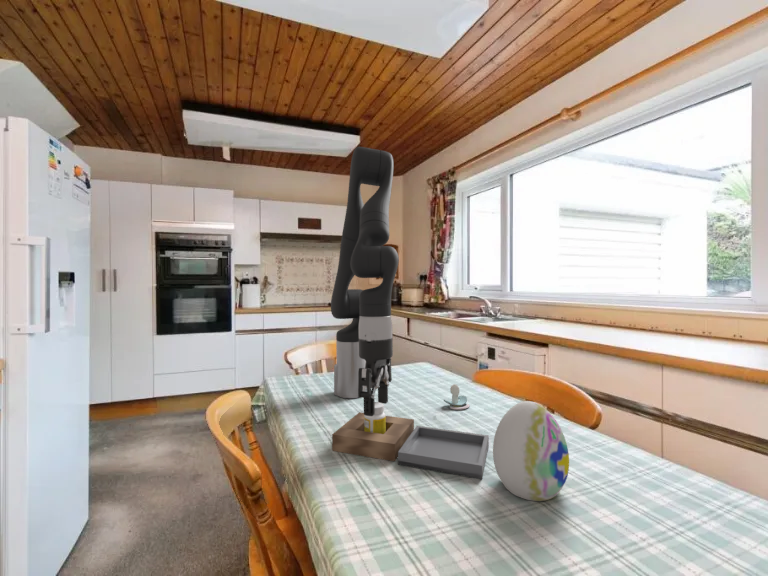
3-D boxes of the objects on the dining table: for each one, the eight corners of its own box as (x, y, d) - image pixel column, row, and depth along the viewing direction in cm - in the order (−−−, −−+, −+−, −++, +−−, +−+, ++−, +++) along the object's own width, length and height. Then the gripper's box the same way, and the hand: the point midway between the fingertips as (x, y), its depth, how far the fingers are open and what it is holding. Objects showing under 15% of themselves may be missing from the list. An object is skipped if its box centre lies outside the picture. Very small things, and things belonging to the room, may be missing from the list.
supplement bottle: (388, 439, 85) (388, 402, 85) (381, 448, 80) (381, 409, 80) (369, 436, 86) (368, 400, 86) (361, 445, 82) (360, 407, 82)
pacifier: (474, 408, 106) (459, 402, 111) (474, 386, 106) (460, 381, 111) (455, 413, 102) (440, 406, 107) (455, 390, 102) (441, 384, 107)
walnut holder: (332, 450, 79) (332, 434, 79) (359, 426, 92) (359, 412, 92) (394, 461, 74) (394, 444, 74) (413, 434, 88) (413, 419, 88)
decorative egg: (553, 519, 56) (554, 420, 56) (480, 489, 65) (480, 402, 64) (578, 486, 65) (579, 401, 65) (511, 463, 74) (511, 387, 73)
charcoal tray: (398, 464, 73) (398, 452, 73) (416, 436, 86) (416, 425, 86) (482, 479, 68) (482, 465, 68) (488, 446, 81) (488, 435, 81)
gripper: (371, 331, 91) (372, 398, 91) (346, 340, 78) (347, 418, 78) (401, 332, 88) (402, 401, 89) (380, 341, 75) (381, 422, 75)
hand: (376, 408), depth 83 cm, fingers open, 8 cm apart
